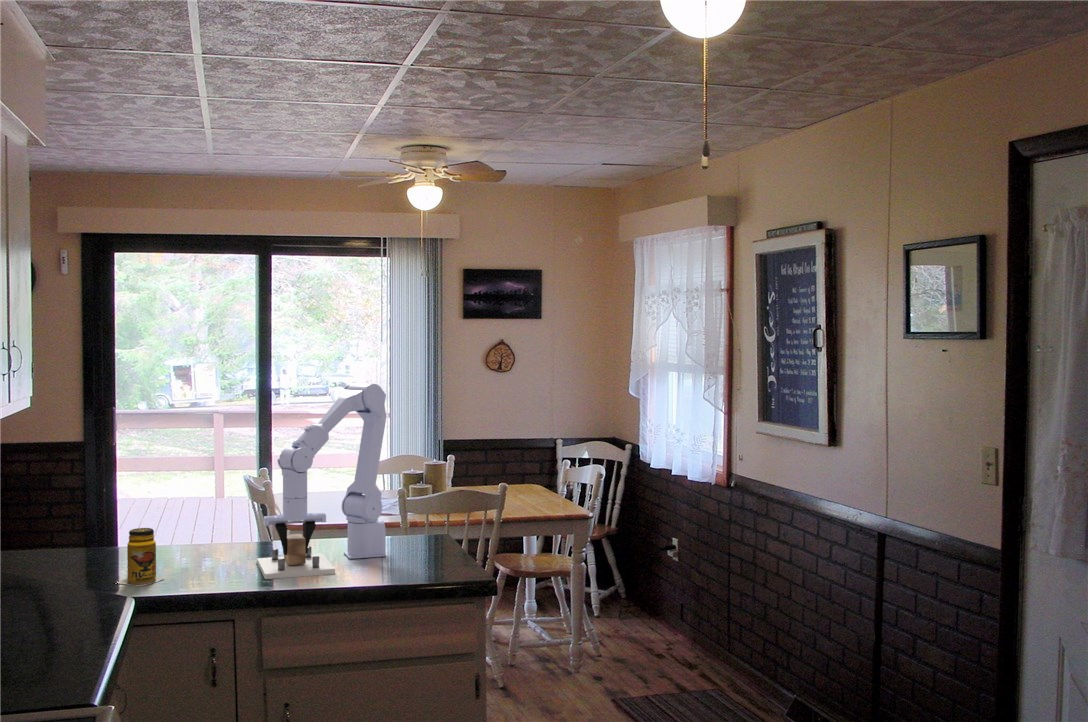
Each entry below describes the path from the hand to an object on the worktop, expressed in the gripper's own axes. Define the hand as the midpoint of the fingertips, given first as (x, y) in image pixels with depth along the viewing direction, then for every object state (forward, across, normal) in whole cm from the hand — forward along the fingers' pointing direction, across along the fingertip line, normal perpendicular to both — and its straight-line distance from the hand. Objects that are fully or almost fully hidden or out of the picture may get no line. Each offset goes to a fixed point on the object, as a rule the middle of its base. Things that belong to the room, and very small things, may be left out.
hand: (295, 553), depth 245 cm
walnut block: (+2, 0, -1) cm, 2 cm away
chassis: (+4, 0, 0) cm, 4 cm away
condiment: (+4, +35, +1) cm, 35 cm away
